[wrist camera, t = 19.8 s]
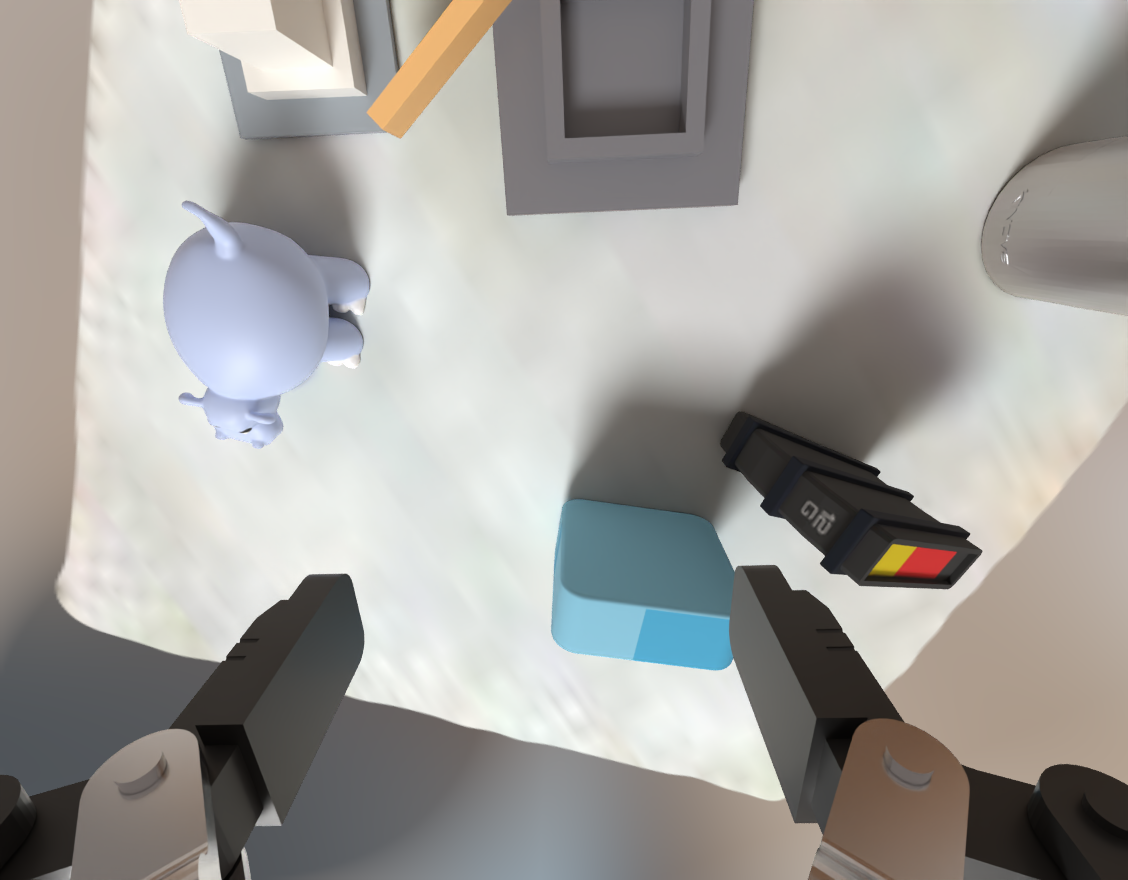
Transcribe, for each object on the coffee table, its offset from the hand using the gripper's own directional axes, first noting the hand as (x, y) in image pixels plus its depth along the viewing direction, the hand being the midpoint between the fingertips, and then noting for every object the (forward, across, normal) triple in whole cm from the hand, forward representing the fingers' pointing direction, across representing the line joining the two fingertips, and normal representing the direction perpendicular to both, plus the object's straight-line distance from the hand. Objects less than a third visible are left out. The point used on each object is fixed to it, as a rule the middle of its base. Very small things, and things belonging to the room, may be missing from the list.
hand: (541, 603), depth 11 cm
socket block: (+28, -4, -15) cm, 32 cm away
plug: (+27, +14, -18) cm, 35 cm away
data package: (+28, -5, +16) cm, 33 cm away
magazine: (+28, -18, +10) cm, 35 cm away
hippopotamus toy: (+28, +19, -2) cm, 34 cm away
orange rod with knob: (+24, +3, -17) cm, 29 cm away
